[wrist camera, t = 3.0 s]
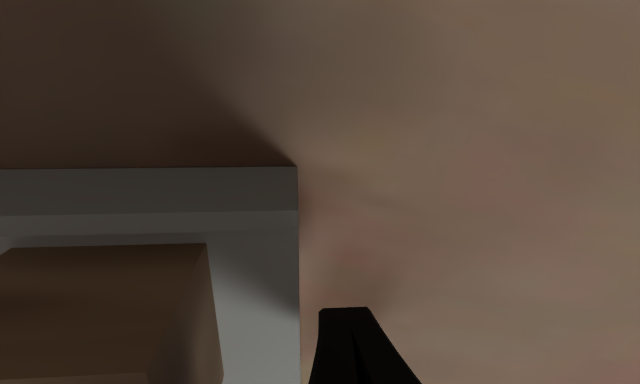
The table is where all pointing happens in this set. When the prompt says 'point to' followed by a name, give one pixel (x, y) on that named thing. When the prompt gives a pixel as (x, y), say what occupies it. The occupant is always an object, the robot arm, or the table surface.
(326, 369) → the robot arm
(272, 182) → the tray
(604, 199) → the table surface
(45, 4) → the table surface
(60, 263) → the block
